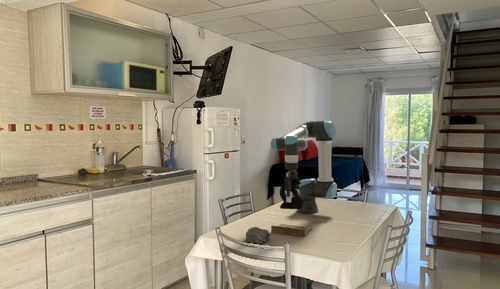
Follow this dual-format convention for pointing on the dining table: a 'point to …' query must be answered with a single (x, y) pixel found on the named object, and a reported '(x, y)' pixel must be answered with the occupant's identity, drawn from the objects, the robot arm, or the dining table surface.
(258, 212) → the dining table surface
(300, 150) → the robot arm
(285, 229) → the display board
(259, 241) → the rock
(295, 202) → the figurine
